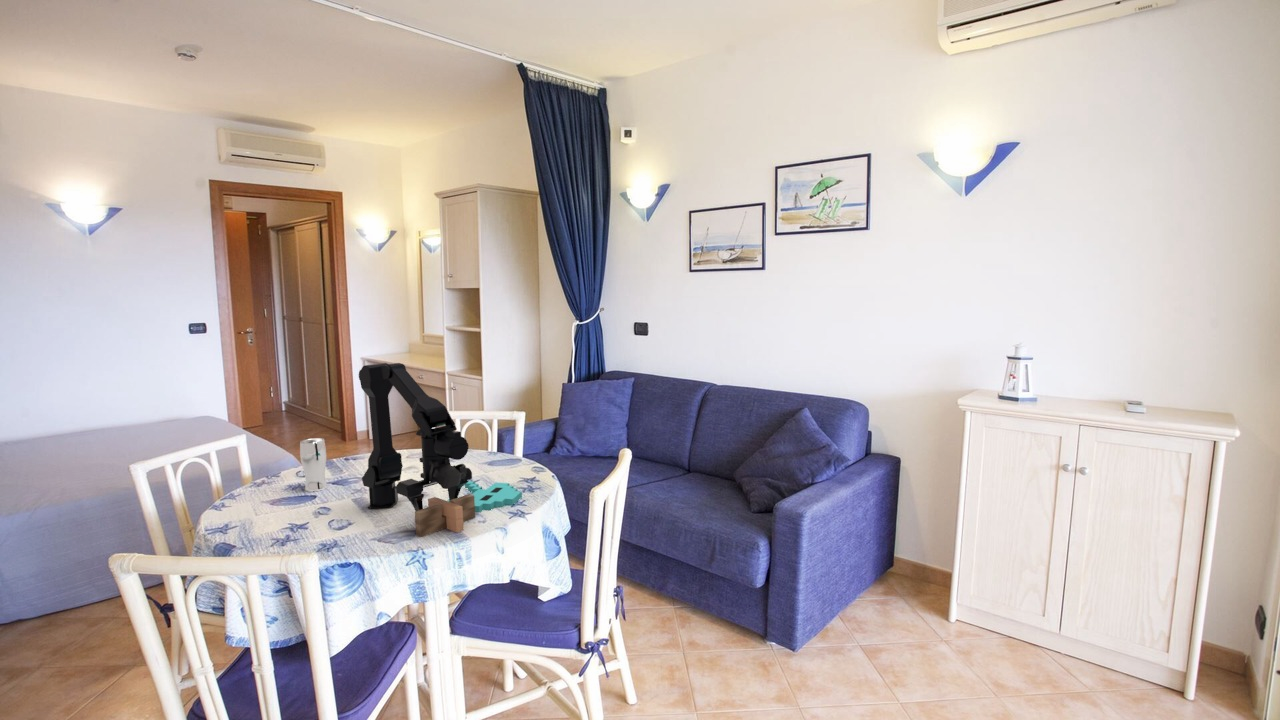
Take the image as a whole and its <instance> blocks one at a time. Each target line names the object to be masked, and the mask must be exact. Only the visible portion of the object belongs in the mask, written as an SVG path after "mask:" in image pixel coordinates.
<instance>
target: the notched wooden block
mask: <svg viewBox="0 0 1280 720" xmlns="http://www.w3.org/2000/svg"><path fill="white" fill-rule="evenodd" d="M471 494H472V493H468V494H466V495H465V494H464V495H461V496H458V498H455V499H452V500H449V502H451V503H454V504H457V505H460V506H462V508H463V523H465V522H467V521H470V520H473V519H475V518H476V512H475V500H474V495H471ZM414 520H415V521H414V524H415V535H416V536H417V537H420V538H422V537H424V536H427V535H430V534H433V533H436V532H438V531H441V530H444V529H447V522H446V516H444V515H442V506H440V505H433V506H430V507H428V506H426V507H423V509H421V510H418V511H415V510H414Z"/></svg>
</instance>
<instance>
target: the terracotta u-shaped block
mask: <svg viewBox="0 0 1280 720" xmlns="http://www.w3.org/2000/svg"><path fill="white" fill-rule="evenodd" d="M427 505H428V506H427V507H430V506H433V505H440V506H442V515H444V516H446V522H447V528H446V529H447V530H448V531H451V532H454V533H459V532H463V531H464V522H463V508H462V506H460V505H457V504H454V503H451V502H448V501H447V500H444V499H442V498H439V497H436V496H433V497H431V498H430V497H429V498H427Z"/></svg>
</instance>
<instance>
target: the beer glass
mask: <svg viewBox="0 0 1280 720" xmlns="http://www.w3.org/2000/svg"><path fill="white" fill-rule="evenodd" d="M325 442H326V441H325V439H324V438H322V437H315V438H307V439H302V440H301V441H299V443H300V444H299V456H300V461H301V466H302V470H303V475H304V479H305V484H304V491H305V492H307V491H308V493H314V492H313V491H316V492H320V491H323V490H326V489H327V488H328V484H327V481H326V468H327V467H326V466H327V465H326V464H327V448H326V443H325Z"/></svg>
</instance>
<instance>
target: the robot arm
mask: <svg viewBox="0 0 1280 720" xmlns="http://www.w3.org/2000/svg"><path fill="white" fill-rule="evenodd" d="M358 379H359V382H360V387H361V389H362V390H363V392H364V394H365V395H366V396H368V404H369V415H370V424H371V426H370V427H371V436H372V446H373V448H372V452H371V453H370V455H369V457H368V459H367V460H368V461H367V467H368V468H367V469H366V471H364V474H363V476H362V478H361V481H362V484H363V485H362V486H364V487H366V488H368V494H369V495H368V496H369V505H368V506H367V509H369V510H371V509H384V508H386V509H387V508H388V509H389V508H393V507H394V506H395V505H396V503H397V502H398V501H399V495H401V496H403V497H406V498H407V500H408V501H409V502H410V503H411V505H412V507H413V509H414V512H415V511H418V510H421V509H424V505H423V499H424V496H425V494H424V493H423V491H424V488H427V487H430V486H431V487H432V486H434V485H437V484H438V485H439V486H440V488H442V489H444V490H447V493H448V499H449V500H452V499H455V498H459V494H460V493H461V492H460V491H461V489H462V488H463V487H464V486H465V484H466V483H468V481H471V480H473V471H472V469H470V467H467V466H466V465H465V464H464V463H459V464H456V465H452V463H451V460H450V459H452V460H455V461H459V460H461V459H463V458H465V457H466V455H467V454H468V452H469V442H468V441H467V439H466V438H465V437H463V436H462V432H461V431H458V430H457V427H456V423H455V421H454V419H452V417H451V414H450V413H449V410H448V408H447V407H446V406H445V404H443V403H442V401H440V400H438V399H437V398H434V397H431V396H430V395H428V394H427V393H426V392H425V391H424V390H423V389H422V387H421V386H420V385H419V383H417V382H416V380H415V379H414V377H413V376H412V375H411V374H410V373H409V372H408V370H407V368H406V366H405V364H404V363H400V362H396V363H387V362H382V363H376V364H375V363H374V364H366V365H363V366H362V367H361V369H359V372H358ZM393 388H395V390H396V391H397V392H398V394H400V396H401V397H402V398H403V399H404V401H405V402H406V403H407V404H408V405H409V407H410V408H411V417H412V419H413V421H414V423H415V424H416V426H417V427H418V428H419V429H418V430H417V431H416V433H415V434H416V436H419V437H420V441H421V444H420V445H421V457H419V463H422V473H420V478H421V480H416V479H413V478H409V479H405V480H402V481H401V477H402V471H403V467H404V466H403V462H402V454H401V453H400V452H397V450H396V449H395V448H394V446H393V436H392V435H393V434H392V424H391V423H392V422H391V412H390V401H389V396H390V393H391V391H392V389H393ZM396 482H397V484H396Z"/></svg>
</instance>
